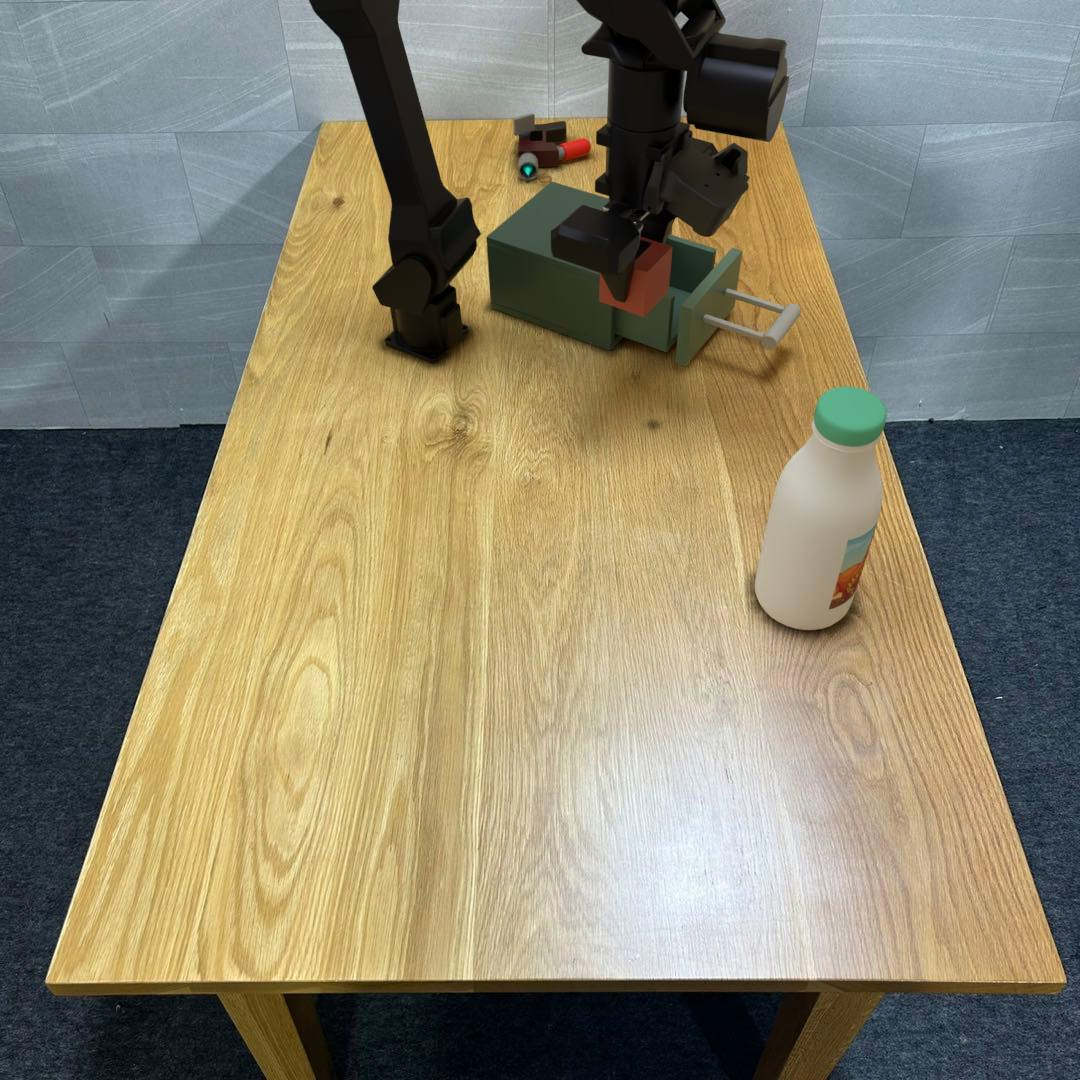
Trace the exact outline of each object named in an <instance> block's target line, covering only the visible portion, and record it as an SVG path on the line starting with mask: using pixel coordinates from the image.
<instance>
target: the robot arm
mask: <svg viewBox="0 0 1080 1080" xmlns="http://www.w3.org/2000/svg"><path fill="white" fill-rule="evenodd" d="M400 1H401V0H308V2H309V4H310V7H311V8H312V9H311V10H312V11H313V12H314V13H315V15H316V16H317V17H318V18H319V19H320V20H321V21H322V23H324V24H325V25H326V26H327V27H328V28H329V30H330V31H332V33H333V34H334V35H335V36H336V37H337V38H338V39H339V41H340V42H341V45H342V48H343V51H344V54H345V58H346V60H347V64H348V67H349V71H350V73H351V78H352V79H353V83H354V86H355V89H356V92H357V95H358V99H359V102H360V105H361V108H362V111H363V115H364V118H365V121H366V124H367V127H368V130H369V133H370V137H371V140H372V144H373V147H374V150H375V153H376V156H377V159H378V162H379V165H380V169H381V172H382V175H383V178H384V182H385V185H386V188H387V190H388V194H389V198H390V202H391V209H390V216H389V226H388V235H387V241H388V242H387V243H388V247H389V253H390V259H391V266H390V267H388V269H387V270H386V271H385V272H384V273H383V274H382V275H381V276H380V277H379V278H378V279H377V280H376V281H375V282H374V283H373V285H372V291H373V293H374V295H375V297H376V299H377V301H378V303H379V305H380V306H382V307H386V308H389V310H390V317H391V323H392V329H393V331H391V333H389V334H388V335H387V336H386V337H385V338H384V344H385V346H387V347H389V348H393V349H395V350H398V351H400V352H403V353H404V354H407V355H410V356H412V357H415V358H417V359H420V360H423V361H426V362H428V363H430V364H435V363H437V362H439V361H440V360H441V359H442V358H443V357H444V356H445V355H446V354H447V353H448V352H449V351H450V350H451V349H453V348H454V347H455V346H456V345H457V344H458V343H459V342H460V341H461V340H462V339H464V338H465V336H467V335H468V333H470V327H469V325H466V324H464V323H463V322H462V321H463V320H462V319H463V318H462V309H461V303H458V297H457V288H456V287H455V286H453V285H451V283H452V281H453V280H454V279H455V278H456V277H457V276H458V274H459V273H460V272H461V271H462V270H463V268H465V266H466V265H467V264H468V263H469V262H470V260H471V259H472V258H473V256H474V255H475V252H476V251H477V247H478V241H477V240H478V239H479V237H480V236H481V235H482V232H481V230H480V229H479V227H478V226H477V223H476V221H475V219H474V214H473V213H474V211H473V203H472V201H471V199H470V198H469V197H467V196H466V197H462V198H461V197H460V198H457V197H456V196H455V195H454V194H453V193H452V192H451V191H450V190H449V189H448V188H447V187H446V186H445V185H444V183H443V180H442V179H441V178H442V177H441V173H440V170H439V166H438V163H437V159H436V156H435V152H434V149H433V145H432V141H431V137H430V134H429V131H428V127H427V123H426V119H425V116H424V112H423V109H422V105H421V101H420V98H419V95H418V91H417V87H416V84H415V83H416V82H415V79H414V76H413V73H412V69H411V65H410V62H409V58H408V54H407V51H406V47H405V43H404V40H403V37H402V34H401V29H400V24H399V10H400ZM575 1H576V2H577V3H578V4H579V5H580V7H581V8H582V9H583V10H584V11H585V12H586V14H588V15H590V16H591V17H593V18H594V19H595V20H597V21H599V22H601V24H600V27H598V28H597V29H596V30H595V31H594V32H593V33H592V34H591V36H589V38H588V39H587V40H586V41H585V42H584V43H583V44H582V45H581V48H580V51H581V53H582V54H583V55H585V56H591V57H596V58H601V59H602V58H603V59H608V76H607V77H608V79H607V80H608V81H607V110H606V111H607V113H606V123H605V124H603V126H601V127H600V128H599V129H598V130H596V131H595V133H596V134H595V144H596V145H598V146H601V147H605V171H604V172H603V173H602V174H601V175H600V176H599V177H597V178H596V179H595V180H594V193H597V194H600V195H602V196H603V195H604V196H606V197H608V198H609V201H608V202H607V203H606V204H605V205H604V206H603V211H601V210H598V209H595V208H592V207H589V206H586V205H581V206H580V207H579V208H577V209H576V210H575V211H573V212H572V213H571V214H570V215H569V216H567V217H566V218H565V219H564V220H563V221H562V222H561V223H559V224H558V225H557V226H556V227H555V228H554V229H553V230H551V253H552V255H553V257H555V258H558V259H561V260H564V261H567V262H570V263H573V264H576V265H578V266H581V267H584V268H587V269H590V270H593V271H596V272H599V273H601V275H602V277H603V279H604V281H605V283H606V285H607V287H608V288H609V290H610V292H611V294H612V296H613V298H614V299H615V300H617V301H620V302H623V303H624V302H625V301H626V300H627V297H628V294H629V290H630V286H631V280H632V275H633V270H634V265H635V261H636V260H637V259H638V258H639V257H640V256H641V255H642V254H643V253H644V252H645V251H646V250H647V249H648V248H649V247H650V246H651V245H652V243H650V242H647V241H644V240H641V239H640V236H641V237H644V238H647V239H650V240H653V241H656V242H660V243H663V244H665V243H666V240H667V238H668V235H669V233H670V230H671V228H672V229H673V225H674V223H675V221H676V219H679V220H681V221H682V222H684V223H685V224H686V225H687V226H689V227H690V228H691V229H692V231H693V232H694V233H695V234H697V235H699V236H701V237H705V238H710V237H712V236H714V235H715V234H716V233H717V232H718V229H720V228H721V227H722V226H723V224H725V222H726V221H728V220H729V219H730V218H731V216H732V214H733V212H734V210H735V209H736V207H737V205H738V204H739V202H740V200H741V198H742V196H743V195H744V194H745V193H746V192H747V191H748V190H749V183H748V182H749V180H750V179H751V178H750V176H749V175H747V173H748V165H749V164H748V162H749V161H748V158H749V153H748V151H747V150H746V149H744V148H743V147H741V146H740V145H739V144H737V143H736V142H732V143H730V144H729V145H727V146H726V147H724V148H722V149H721V150H720V151H718V149H717V147H716V146H715V145H714V143H713V142H711V141H706V140H703V139H700V138H695V137H693V133H694V132H693V130H692V129H691V125H692V126H693V127H694V128H695V129H696V130H701V131H705V132H711V133H717V134H721V135H722V134H723V135H727V136H734V137H737V138H744V139H748V140H753V141H754V140H755V141H760V142H765V143H770V142H771V141H772V140H773V139H774V136H775V134H776V132H777V129H778V126H779V124H780V120H781V118H782V114H783V110H784V107H785V103H786V98H787V94H788V87H789V84H790V83H789V82H790V76H789V75H788V59H787V58H786V52H787V46H788V45H787V42H786V40H785V39H780V38H779V39H778V38H772V37H766V38H765V37H763V38H754V37H747V36H741V35H740V36H739V35H734V34H728V33H721V32H720V31H721V30H722V29H723V27H724V26H725V24H726V22H727V20H726V17H725V15H724V14H723V11H722V10H721V7H720V6H719V4H718V2H717V0H575ZM680 13H681V14H683V15H684V16H685V17H686V18H687V21H686V22H685V23H684V24H683V25H682V26H681V28H680V26H679V24H678V22H677V21H676V18H677V17H678V16H679V15H680ZM685 74H686V77H685ZM682 108H683V109H682ZM682 110H683V111H684V112H685V113H686V122H683V121H682Z"/></svg>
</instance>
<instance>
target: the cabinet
mask: <svg viewBox="0 0 1080 1080" xmlns="http://www.w3.org/2000/svg"><path fill="white" fill-rule="evenodd" d="M608 201H609V197H605V196H603V195H602V196H601V195H599V194H596V193H593V192H592V193H591V192H589V191H585V190H583V189H579V188H576V187H572V186H568V185H566V184H562V183H559V182H555V181H550V182H549V183H548V184H546V185H545V186H544V187H543V188H542V189H541V190H539V191H538V192H537V193H536V194H535V195H533V196H532V197H531V198H529V200H528V201H526V203H524V204H523V205H522V206H520V207H519V208H518V209H517V210H516V211H514V213H513V214H511V215H510V216H509V217H508V218H507V219H505V220H503V222H502V223H501V224H499V226H497V227H496V228H495V229H494V230H492V231H491V232H490V233H488V235H486V237H485V238H486V239H485V240H486V253H487V270H488V285H489V286H488V287H489V300H490V301H489V302H490V308H491V309H493V310H495V311H499V312H501V313H504V314H507V315H509V316H512V317H515V318H518V319H521V320H523V321H526V322H529V323H531V324H533V325H534V324H535V325H537V326H540V327H543V328H546V329H548V330H551V331H554V332H556V333H559V334H562V335H565V336H567V337H570V338H573V339H574V340H575V339H576V340H579V341H581V342H584V343H587V344H590V345H591V346H595V347H598V348H601V349H603V350H606V351H609V352H611V351H612V350H613V349H614V348H615V346H617V344H618V343H619V342H620V341H621V340H622V339H623V338H624V337H622V336H619V335H617V334H614V330H615V307H614V306H611V305H608V304H605V303H603V302H600V301H599V292H600V273H599V272H596V271H593V270H590V269H587V268H584V267H581V266H578V265H576V264H573V263H570V262H567V261H564V260H561V259H558V258H555V257H553V255H552V253H551V230H553V229H554V228H555V227H556V226H557V225H558V224H559V223H561V222H562V221H563V220H564V219H565V218H566V217H567V216H569V215H570V214H571V213H572V212H573V211H575V210H576V209H577V208H579V207H580V206H581V205H586V206H589V207H592V208H595V209H598V210H601V211H603V206H604V205H605V204H606V203H607V202H608ZM672 233H673V227H672V228H671V230H670V233H669V234H670V235H673V234H672Z"/></svg>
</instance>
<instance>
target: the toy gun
mask: <svg viewBox="0 0 1080 1080" xmlns="http://www.w3.org/2000/svg"><path fill="white" fill-rule="evenodd" d="M535 117H536V116H535V114H534V113H528V114H524V115H523V114H522V115H520V116H517V117H513V118H512V124H513V135H514V136H515V137H518V162H517V173H518V176H519V177H520V178H521V179H522V180H524V181H533V180H534V179H536V178H537V177H538V175H539V168H540V167H560V160H562V161H564V162H565V161H571V160H573V159H574V160H575V159H577V158H581V157H584V156H587V155H589V154H590V152H591V150H592V144H591V142H590V140H589V139H588V138H586V137H582V138H578V139H573V140H570V141H566V140H567V138H568V137H567V136H568V135H567V131H568V130H567V129H568V128H567V122H566V121H565V120H560V121H553V122H547V123H535V122H536V120H535ZM557 143H560V144H559V146H557Z"/></svg>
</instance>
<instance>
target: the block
mask: <svg viewBox="0 0 1080 1080" xmlns="http://www.w3.org/2000/svg"><path fill="white" fill-rule="evenodd" d="M640 239H641V240H644V241H647V242H650V243H652V245H651V246H650V247H649V248H648V249H647V250H646V251H645V252H644V253H643V254H642V255H641V256H640V257H639V258H638V259H637V260H636V261H635V265H634V270H633V275H632V280H631V286H630V290H629V294H628V297H627V300H626V301H625V302H624V303H623V302H620V301H617V300H615V299H614V298H613V296H612V294H611V292H610V290H609V288H608V287H607V285H606V283H605V281H604V279H603V277H602V275H601V273H600V292H599V301H600V302H603V303H605V304H608V305H611V306H614V307H617V308H620V309H622V310H625V311H628V312H631V313H634V314H636V315H639V316H642V317H645V316H646V315H647V314H648V313H649V312H650V311H651V309H652V308H653V307H654V306H655V305H656V304H657V303H658V302H659V301H660V300H661V299H662V298H663V297H664V296H665V295H666V294H667V293H668V291H669V282H670V271H671V260H672V248H673V247H672V246H669V245H666V244H663V243H660V242H656V241H653V240H650V239H647V238H644V237H641V236H640Z"/></svg>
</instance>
